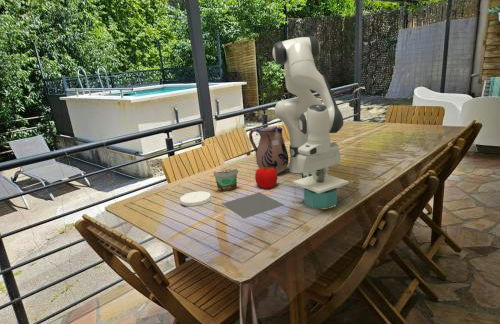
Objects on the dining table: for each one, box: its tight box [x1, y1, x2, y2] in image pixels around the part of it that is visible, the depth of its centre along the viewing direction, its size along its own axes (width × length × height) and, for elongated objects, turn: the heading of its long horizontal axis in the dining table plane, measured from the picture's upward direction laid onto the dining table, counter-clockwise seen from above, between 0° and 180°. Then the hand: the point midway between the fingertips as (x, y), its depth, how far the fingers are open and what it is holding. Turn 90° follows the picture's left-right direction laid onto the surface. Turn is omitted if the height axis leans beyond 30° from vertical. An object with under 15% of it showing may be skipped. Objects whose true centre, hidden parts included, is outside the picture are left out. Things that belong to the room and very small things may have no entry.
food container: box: [213, 167, 239, 193], centre depth 168 cm, size 12×6×10 cm, turn 105°
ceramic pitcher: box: [248, 125, 289, 175], centre depth 189 cm, size 18×21×25 cm
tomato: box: [254, 167, 278, 190], centre depth 169 cm, size 11×13×10 cm
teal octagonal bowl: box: [303, 187, 338, 209], centre depth 144 cm, size 13×13×7 cm
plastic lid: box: [179, 191, 212, 207], centre depth 159 cm, size 14×14×2 cm
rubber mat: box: [221, 192, 285, 219], centre depth 149 cm, size 20×20×1 cm
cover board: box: [292, 170, 350, 193], centre depth 142 cm, size 16×16×5 cm
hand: (320, 178), depth 142 cm, fingers closed on cover board, 3 cm apart
